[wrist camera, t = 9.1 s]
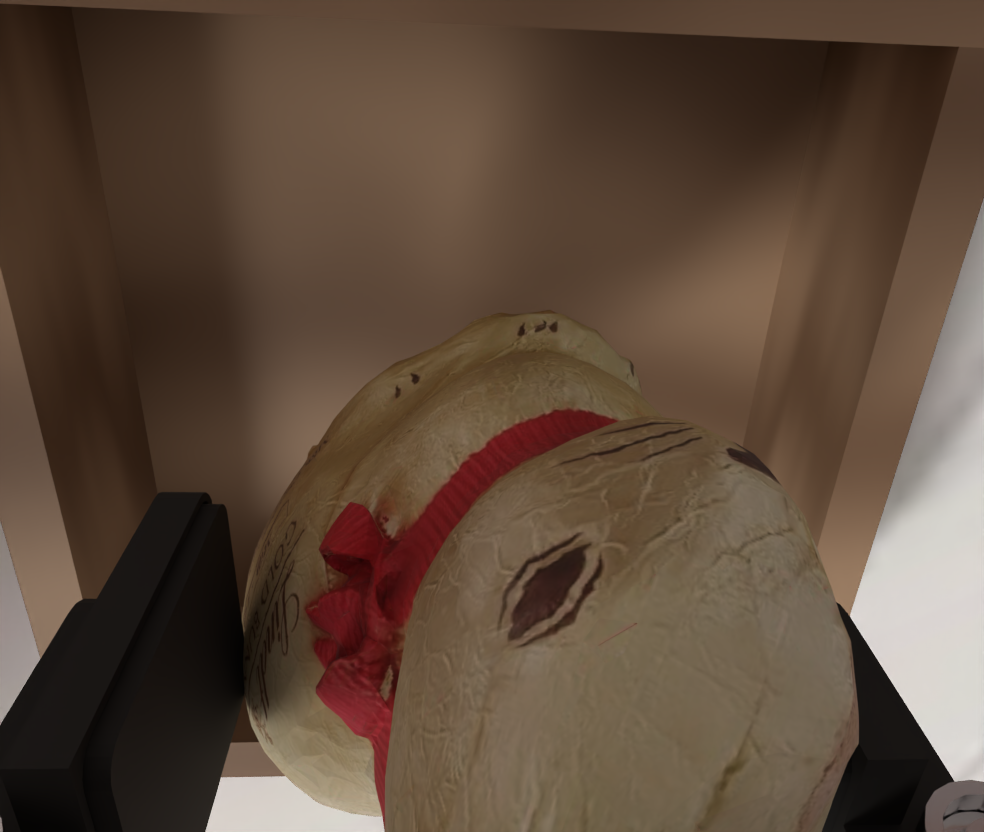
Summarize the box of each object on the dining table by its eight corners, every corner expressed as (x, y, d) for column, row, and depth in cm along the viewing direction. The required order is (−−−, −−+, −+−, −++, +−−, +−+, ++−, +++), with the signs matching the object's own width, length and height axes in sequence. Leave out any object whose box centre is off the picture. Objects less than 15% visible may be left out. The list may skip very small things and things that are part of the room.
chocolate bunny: (752, 531, 13) (1433, 1752, 4) (324, 704, 14) (113, 1909, 5) (623, 220, 10) (1637, 1577, 2) (120, 465, 12) (-903, 1949, 3)
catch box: (727, 609, 22) (800, 767, 17) (154, 610, 21) (75, 779, 16) (874, -28, 15) (1058, -36, 10) (21, -72, 14) (-180, -101, 9)
